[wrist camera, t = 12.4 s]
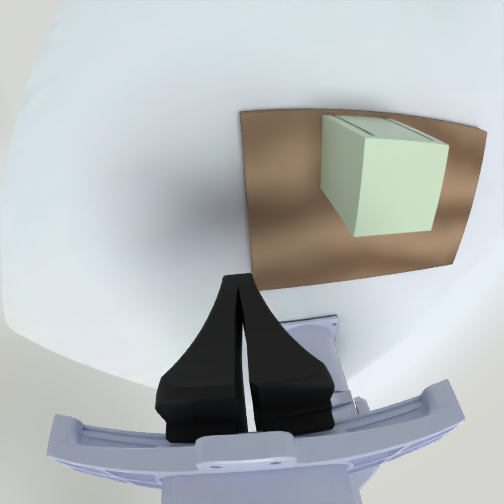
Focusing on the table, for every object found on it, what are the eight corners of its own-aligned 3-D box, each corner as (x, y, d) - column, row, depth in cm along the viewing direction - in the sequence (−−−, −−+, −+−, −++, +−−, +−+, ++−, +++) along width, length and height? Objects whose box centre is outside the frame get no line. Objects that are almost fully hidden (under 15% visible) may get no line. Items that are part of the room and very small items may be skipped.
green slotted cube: (384, 185, 20) (430, 230, 15) (320, 187, 20) (353, 237, 15) (391, 118, 17) (449, 145, 12) (322, 114, 17) (364, 137, 12)
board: (447, 257, 27) (452, 264, 26) (253, 282, 26) (254, 291, 25) (478, 128, 18) (487, 132, 17) (240, 111, 18) (240, 113, 17)
